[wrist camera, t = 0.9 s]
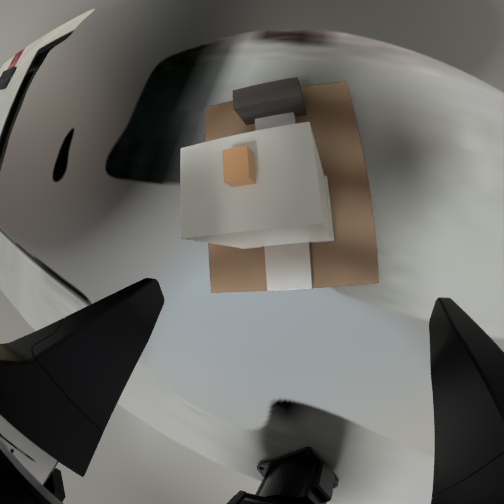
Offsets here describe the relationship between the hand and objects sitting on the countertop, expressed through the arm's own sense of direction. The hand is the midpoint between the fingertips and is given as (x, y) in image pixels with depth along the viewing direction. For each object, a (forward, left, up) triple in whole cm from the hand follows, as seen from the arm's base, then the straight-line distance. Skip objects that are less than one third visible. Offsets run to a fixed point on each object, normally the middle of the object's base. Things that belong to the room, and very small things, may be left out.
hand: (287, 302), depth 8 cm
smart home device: (-46, +111, -16) cm, 121 cm away
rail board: (+2, +8, -16) cm, 18 cm away
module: (0, +6, -14) cm, 15 cm away
